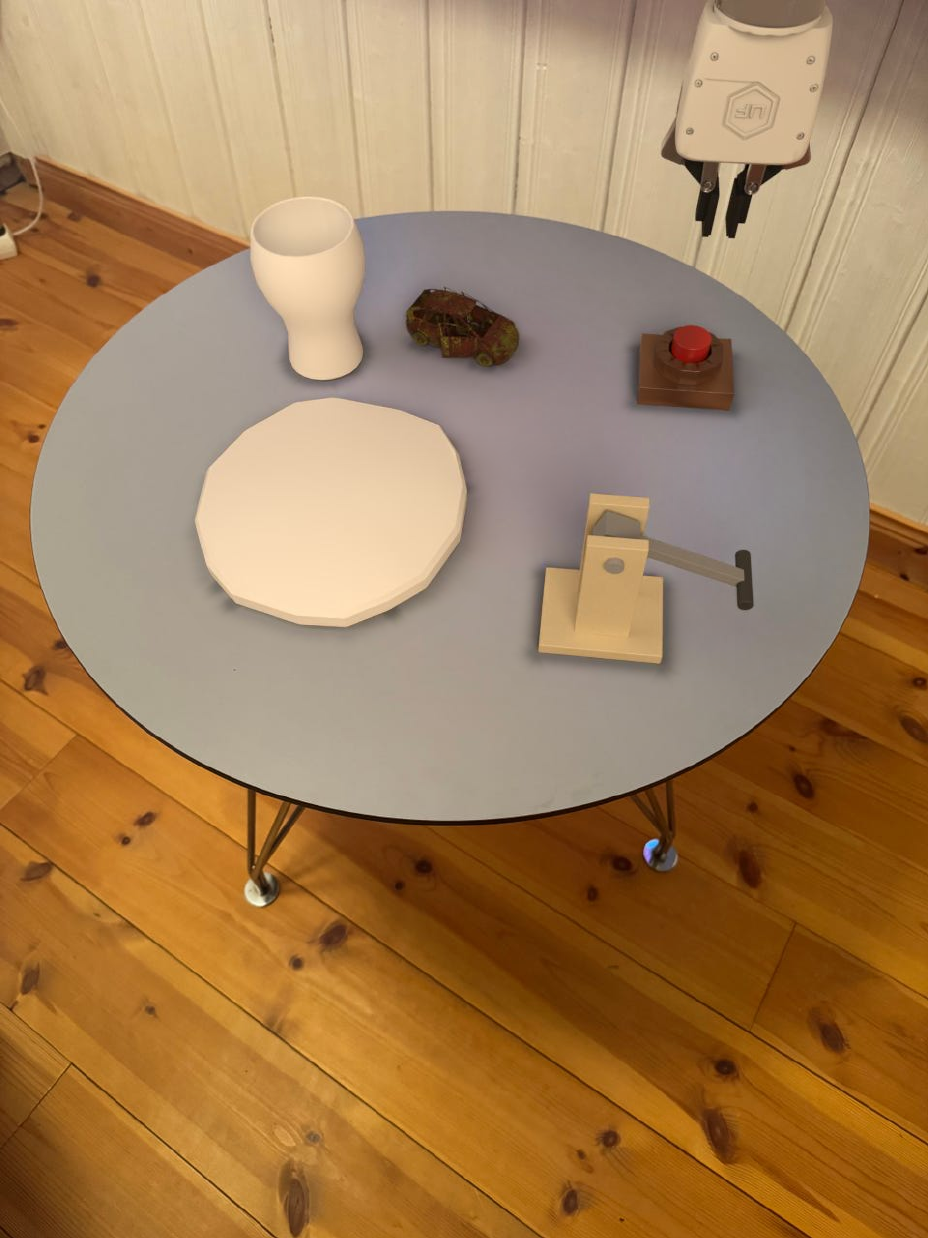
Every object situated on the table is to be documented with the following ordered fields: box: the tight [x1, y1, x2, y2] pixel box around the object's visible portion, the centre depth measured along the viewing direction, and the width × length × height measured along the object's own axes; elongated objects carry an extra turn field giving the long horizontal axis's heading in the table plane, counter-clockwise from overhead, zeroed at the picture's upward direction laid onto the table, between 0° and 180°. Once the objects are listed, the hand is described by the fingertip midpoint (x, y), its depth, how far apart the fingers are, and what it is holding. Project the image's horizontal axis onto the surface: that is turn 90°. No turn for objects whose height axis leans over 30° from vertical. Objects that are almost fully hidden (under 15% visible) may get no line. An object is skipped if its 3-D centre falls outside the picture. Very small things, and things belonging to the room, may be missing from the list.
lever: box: [593, 511, 755, 611], centre depth 70 cm, size 13×5×2 cm, turn 83°
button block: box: [637, 325, 735, 411], centre depth 92 cm, size 9×8×4 cm
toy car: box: [405, 286, 520, 368], centre depth 95 cm, size 12×7×5 cm, turn 63°
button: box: [671, 324, 711, 363], centre depth 90 cm, size 4×4×2 cm
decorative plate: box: [194, 397, 468, 628], centre depth 83 cm, size 25×4×25 cm
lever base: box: [537, 492, 664, 665], centre depth 72 cm, size 10×8×13 cm
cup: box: [249, 195, 367, 381], centre depth 91 cm, size 11×11×15 cm
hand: (717, 226), depth 79 cm, fingers closed
